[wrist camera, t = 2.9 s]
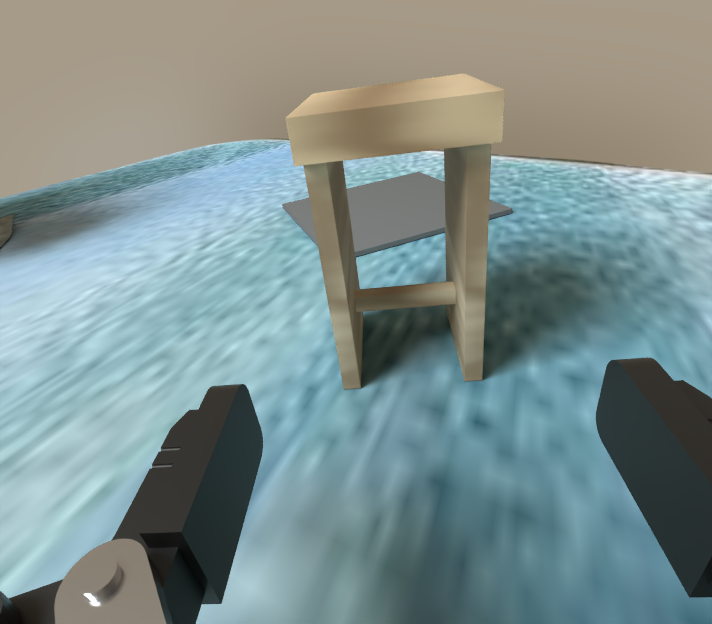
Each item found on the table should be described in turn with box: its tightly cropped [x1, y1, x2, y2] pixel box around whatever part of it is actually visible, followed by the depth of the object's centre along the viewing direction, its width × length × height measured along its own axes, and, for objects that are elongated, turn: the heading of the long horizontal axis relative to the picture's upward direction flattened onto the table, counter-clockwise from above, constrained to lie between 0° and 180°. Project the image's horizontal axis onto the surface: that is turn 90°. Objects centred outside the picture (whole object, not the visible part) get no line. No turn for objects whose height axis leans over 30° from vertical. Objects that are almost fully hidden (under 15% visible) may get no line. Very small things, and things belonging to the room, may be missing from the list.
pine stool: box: [285, 74, 505, 389], centre depth 20 cm, size 7×7×12 cm
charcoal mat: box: [282, 172, 512, 257], centre depth 41 cm, size 16×16×1 cm
